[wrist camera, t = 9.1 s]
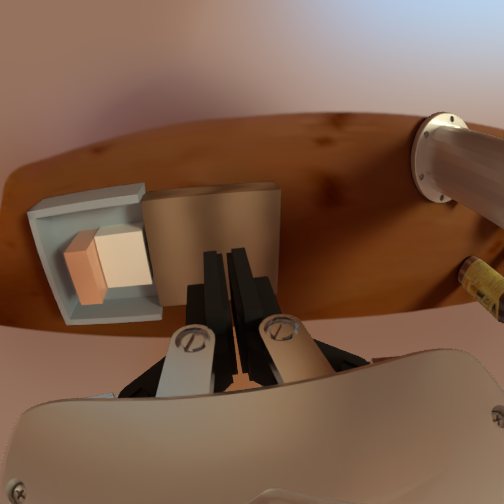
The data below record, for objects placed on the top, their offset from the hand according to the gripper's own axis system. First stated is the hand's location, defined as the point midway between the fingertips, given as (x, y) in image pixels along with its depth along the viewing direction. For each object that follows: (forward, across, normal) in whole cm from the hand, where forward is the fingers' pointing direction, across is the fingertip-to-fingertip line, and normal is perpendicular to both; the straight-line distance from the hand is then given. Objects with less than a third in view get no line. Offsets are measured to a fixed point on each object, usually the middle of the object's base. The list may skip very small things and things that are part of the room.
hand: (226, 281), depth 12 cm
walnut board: (+19, +1, +7) cm, 20 cm away
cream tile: (+18, +10, +7) cm, 22 cm away
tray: (+18, +13, +7) cm, 24 cm away
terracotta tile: (+15, +12, +7) cm, 21 cm away
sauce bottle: (+21, -43, +19) cm, 52 cm away
